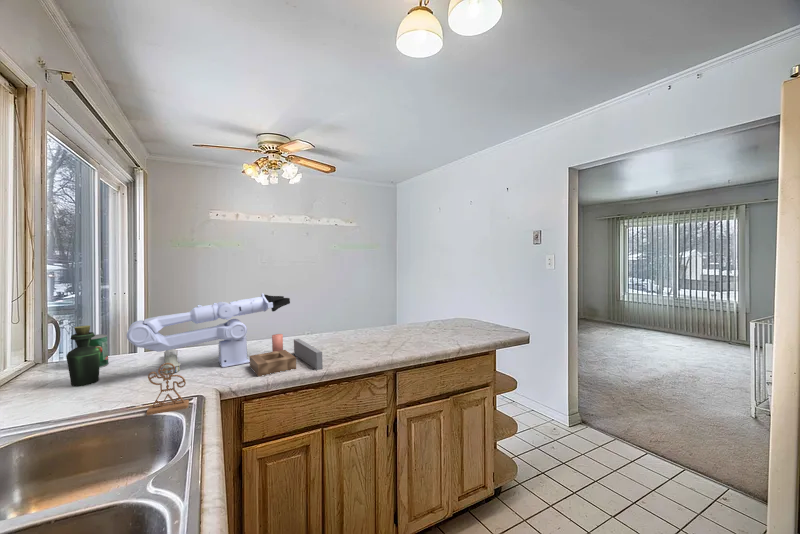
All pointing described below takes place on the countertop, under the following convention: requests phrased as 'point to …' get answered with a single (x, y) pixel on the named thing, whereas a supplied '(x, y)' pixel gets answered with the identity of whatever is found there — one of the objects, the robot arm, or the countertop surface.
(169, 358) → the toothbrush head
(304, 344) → the wall
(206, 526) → the countertop surface
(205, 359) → the countertop surface
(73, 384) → the potion bottle
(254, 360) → the block
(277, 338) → the dowel
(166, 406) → the gingerbread man figurine
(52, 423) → the countertop surface
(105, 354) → the canned tomato
